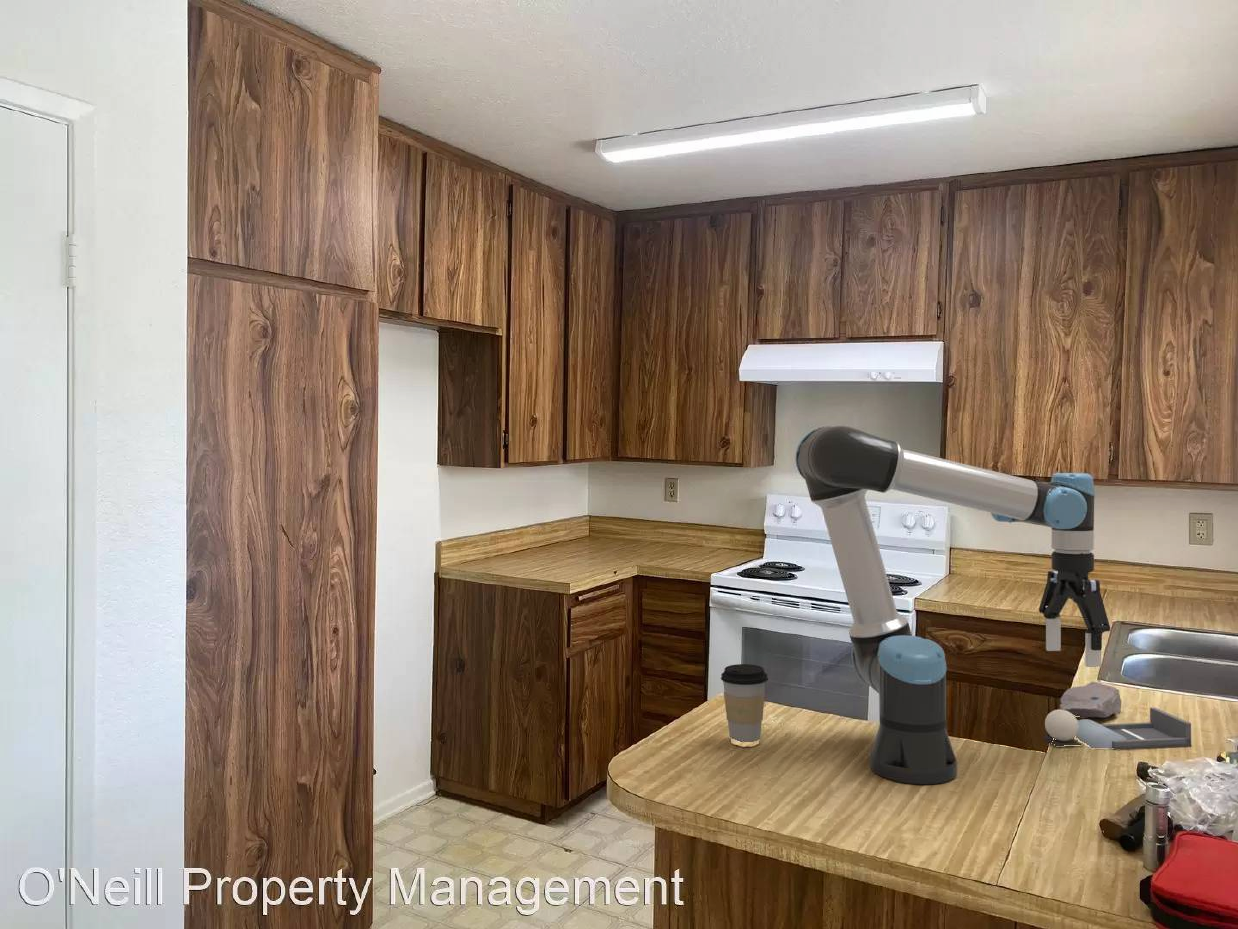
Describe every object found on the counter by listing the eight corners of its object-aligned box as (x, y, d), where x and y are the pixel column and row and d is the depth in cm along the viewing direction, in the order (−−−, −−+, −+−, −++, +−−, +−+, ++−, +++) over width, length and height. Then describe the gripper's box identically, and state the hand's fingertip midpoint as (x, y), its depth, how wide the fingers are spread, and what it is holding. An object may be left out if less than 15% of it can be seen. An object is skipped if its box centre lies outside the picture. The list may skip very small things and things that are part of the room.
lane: (1114, 750, 175) (1114, 726, 175) (1082, 732, 185) (1082, 710, 185) (1191, 746, 176) (1191, 723, 176) (1154, 729, 186) (1154, 707, 186)
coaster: (1056, 747, 177) (1056, 745, 177) (1042, 739, 182) (1042, 736, 182) (1081, 746, 177) (1081, 743, 177) (1066, 738, 182) (1066, 735, 182)
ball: (1055, 746, 176) (1055, 715, 176) (1039, 736, 182) (1038, 706, 182) (1085, 744, 177) (1084, 714, 176) (1067, 734, 183) (1067, 705, 182)
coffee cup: (719, 749, 180) (717, 673, 179) (725, 734, 189) (723, 662, 189) (767, 752, 177) (766, 675, 177) (770, 736, 187) (769, 664, 186)
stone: (1100, 726, 190) (1100, 697, 189) (1055, 715, 197) (1056, 688, 197) (1130, 715, 197) (1131, 688, 197) (1087, 705, 205) (1087, 679, 205)
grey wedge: (1132, 773, 176) (1131, 732, 176) (1092, 775, 175) (1092, 734, 175) (1103, 757, 185) (1103, 718, 185) (1066, 759, 184) (1065, 720, 184)
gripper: (1131, 558, 167) (1131, 673, 168) (1055, 544, 192) (1055, 643, 193) (1092, 559, 167) (1092, 674, 167) (1021, 544, 192) (1021, 644, 192)
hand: (1072, 658), depth 180 cm, fingers open, 13 cm apart
